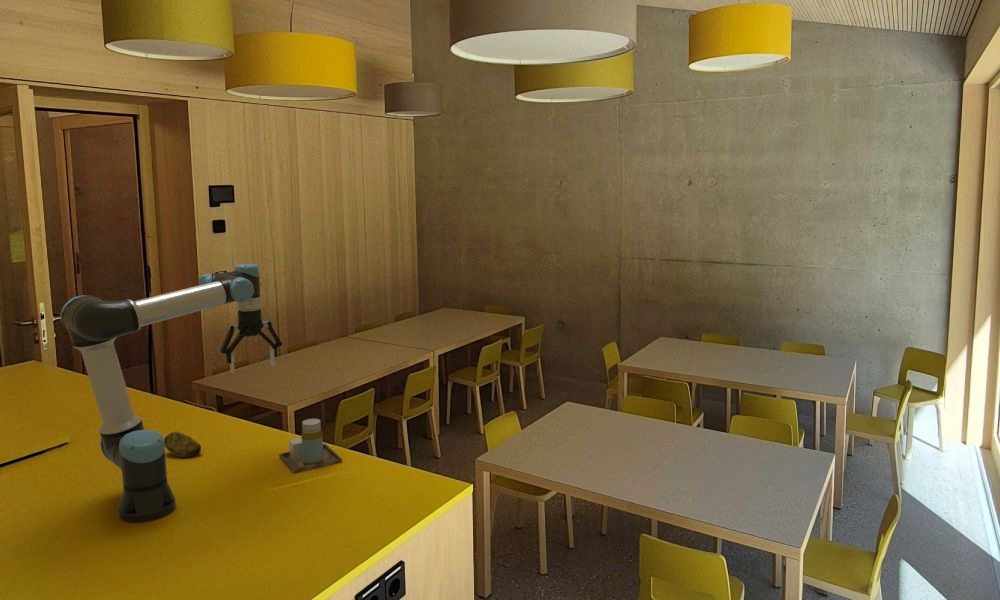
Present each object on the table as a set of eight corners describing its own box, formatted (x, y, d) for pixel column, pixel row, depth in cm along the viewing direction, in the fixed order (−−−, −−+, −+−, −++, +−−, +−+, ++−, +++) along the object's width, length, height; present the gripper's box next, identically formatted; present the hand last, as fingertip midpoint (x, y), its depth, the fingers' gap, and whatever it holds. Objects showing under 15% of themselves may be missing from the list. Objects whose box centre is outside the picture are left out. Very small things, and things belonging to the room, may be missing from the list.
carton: (294, 460, 241) (293, 444, 240) (289, 456, 245) (288, 440, 244) (321, 454, 247) (321, 438, 246) (317, 450, 251) (316, 434, 250)
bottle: (298, 463, 239) (296, 422, 236) (315, 457, 244) (313, 416, 242) (311, 468, 235) (309, 426, 232) (327, 462, 240) (326, 421, 238)
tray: (293, 475, 231) (293, 469, 231) (279, 459, 244) (279, 453, 244) (341, 463, 240) (341, 458, 240) (325, 449, 253) (325, 443, 253)
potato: (183, 462, 241) (181, 441, 239) (161, 455, 247) (159, 434, 246) (204, 454, 248) (202, 433, 247) (181, 447, 254) (180, 427, 253)
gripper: (213, 314, 226) (217, 377, 229) (289, 307, 239) (292, 366, 243) (208, 311, 232) (212, 372, 235) (282, 304, 245) (285, 361, 249)
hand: (253, 369), depth 239 cm, fingers open, 13 cm apart
